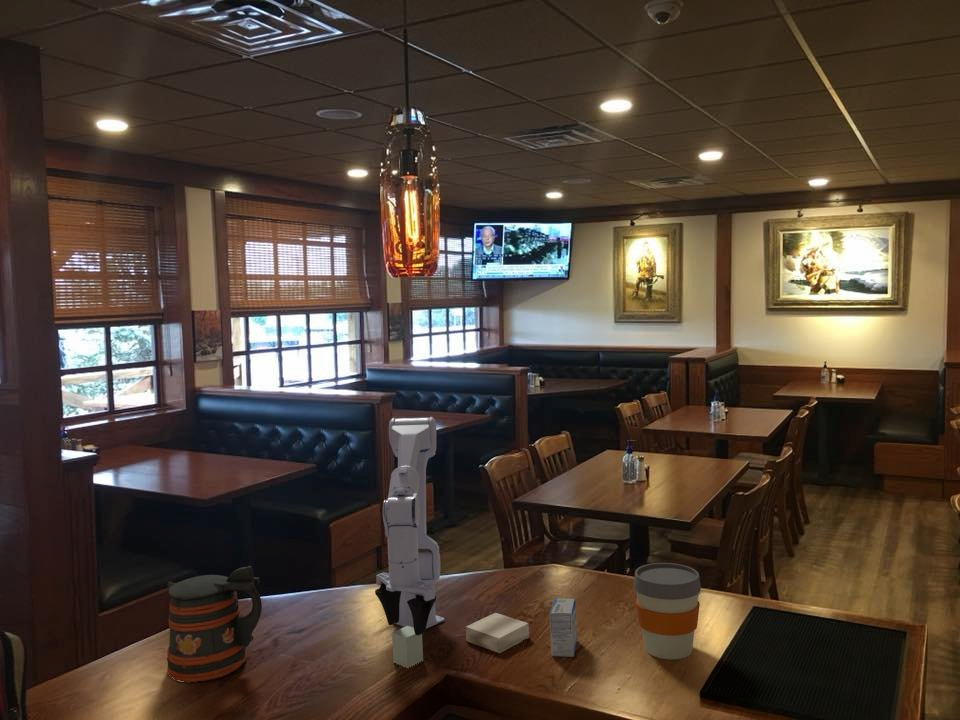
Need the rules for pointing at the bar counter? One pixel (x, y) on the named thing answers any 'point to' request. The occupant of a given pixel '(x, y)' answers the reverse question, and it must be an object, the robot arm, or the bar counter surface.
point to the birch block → (497, 632)
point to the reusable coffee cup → (667, 608)
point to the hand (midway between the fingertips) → (406, 628)
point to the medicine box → (563, 627)
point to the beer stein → (210, 625)
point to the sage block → (407, 647)
